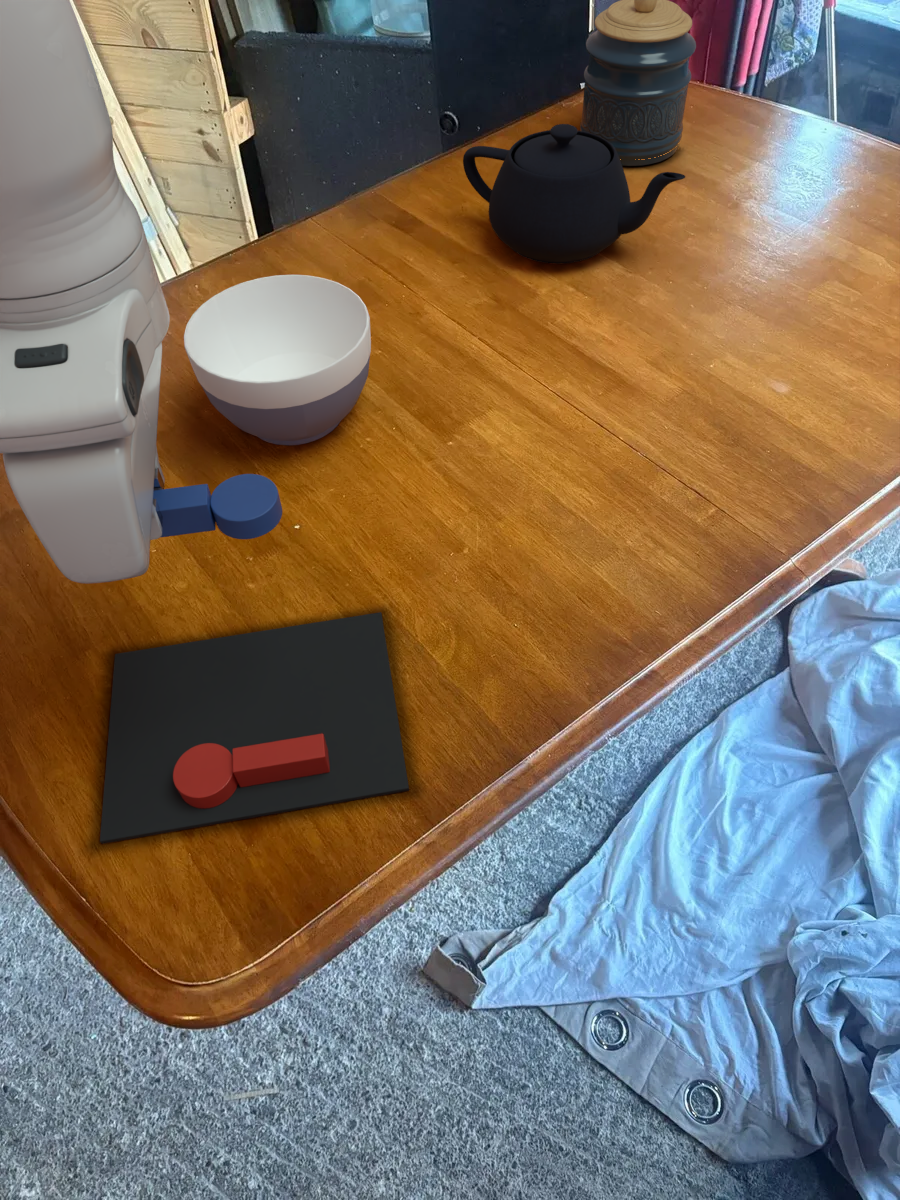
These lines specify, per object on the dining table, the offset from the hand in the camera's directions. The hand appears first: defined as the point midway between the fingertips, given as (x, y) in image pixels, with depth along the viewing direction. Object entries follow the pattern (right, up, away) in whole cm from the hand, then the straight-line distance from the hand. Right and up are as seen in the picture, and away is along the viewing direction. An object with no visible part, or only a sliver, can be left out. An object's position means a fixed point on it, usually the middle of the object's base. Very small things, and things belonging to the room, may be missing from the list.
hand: (149, 512), depth 52 cm
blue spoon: (+3, 0, +1) cm, 3 cm away
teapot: (+31, +35, +49) cm, 68 cm away
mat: (+4, -14, +10) cm, 18 cm away
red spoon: (+5, -17, +7) cm, 19 cm away
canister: (+41, +54, +63) cm, 92 cm away
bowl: (+3, +12, +32) cm, 34 cm away
